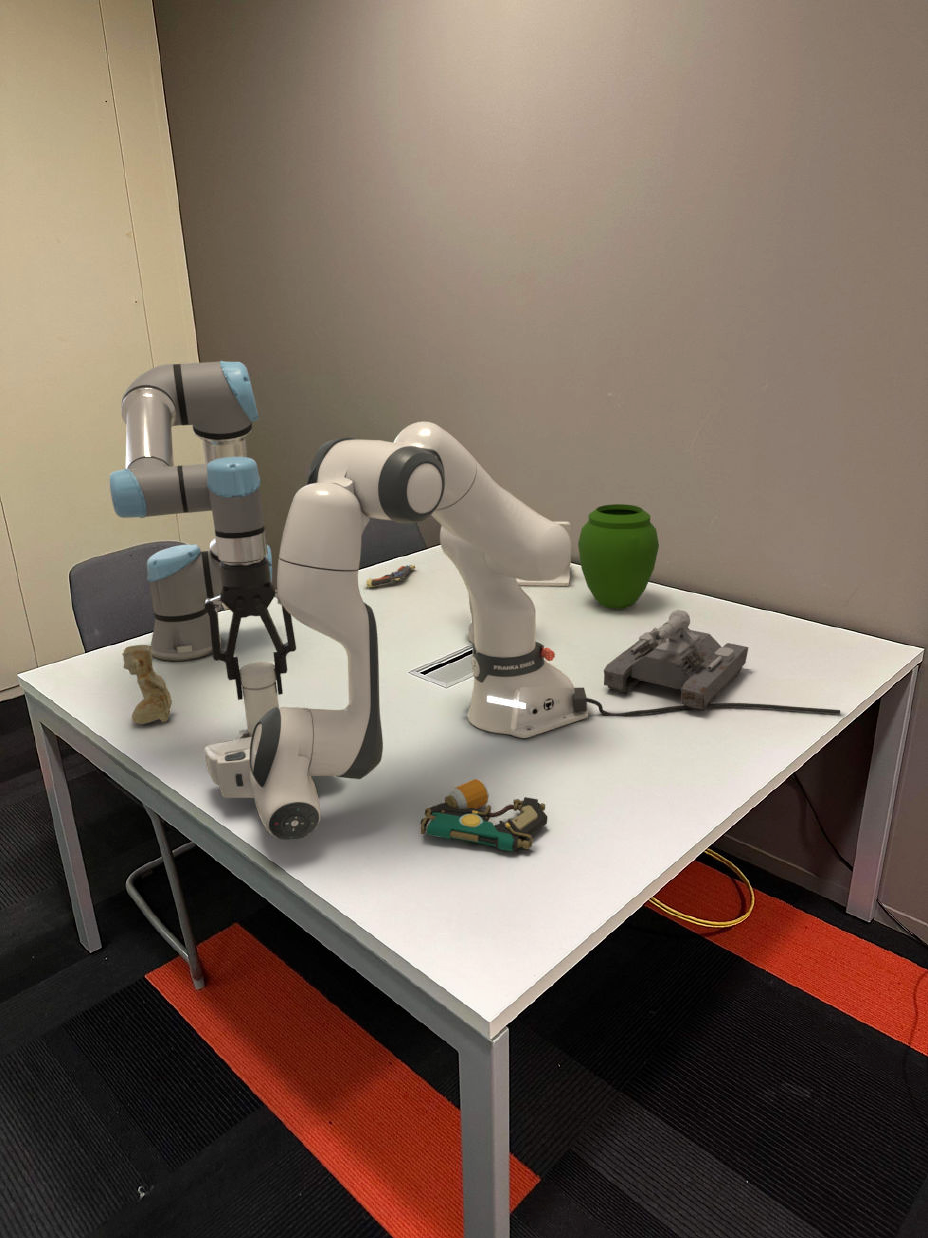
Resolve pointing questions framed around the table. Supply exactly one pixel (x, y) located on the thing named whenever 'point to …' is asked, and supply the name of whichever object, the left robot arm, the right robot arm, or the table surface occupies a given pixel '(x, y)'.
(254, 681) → the lid
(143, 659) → the sculpture
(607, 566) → the vase
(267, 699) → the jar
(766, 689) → the table surface
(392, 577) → the toy gun
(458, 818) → the spray gun
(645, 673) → the toy
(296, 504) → the right robot arm
